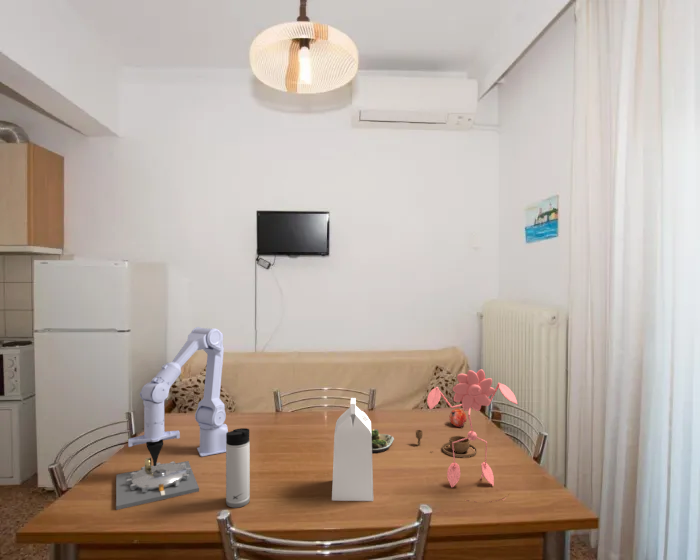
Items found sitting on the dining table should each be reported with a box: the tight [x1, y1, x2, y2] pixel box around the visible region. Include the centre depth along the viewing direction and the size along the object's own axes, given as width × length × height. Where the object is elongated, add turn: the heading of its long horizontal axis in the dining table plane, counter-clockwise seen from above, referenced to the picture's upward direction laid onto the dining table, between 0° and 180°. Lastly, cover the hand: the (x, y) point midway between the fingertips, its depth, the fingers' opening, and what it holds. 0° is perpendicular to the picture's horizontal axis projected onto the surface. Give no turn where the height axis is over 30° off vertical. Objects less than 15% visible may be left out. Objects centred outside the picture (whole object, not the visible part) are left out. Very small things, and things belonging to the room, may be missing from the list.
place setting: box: [415, 429, 478, 458], centre depth 156 cm, size 18×20×6 cm
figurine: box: [426, 369, 518, 503], centre depth 125 cm, size 15×26×35 cm, turn 92°
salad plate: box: [371, 428, 395, 454], centre depth 162 cm, size 19×18×5 cm
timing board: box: [115, 460, 200, 511], centre depth 129 cm, size 21×21×1 cm
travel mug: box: [225, 427, 251, 509], centre depth 118 cm, size 6×7×20 cm
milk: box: [331, 397, 374, 502], centre depth 125 cm, size 12×12×26 cm
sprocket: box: [127, 457, 192, 492], centre depth 130 cm, size 18×18×4 cm
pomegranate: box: [448, 408, 468, 428], centre depth 180 cm, size 7×7×10 cm
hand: (154, 464), depth 135 cm, fingers closed
